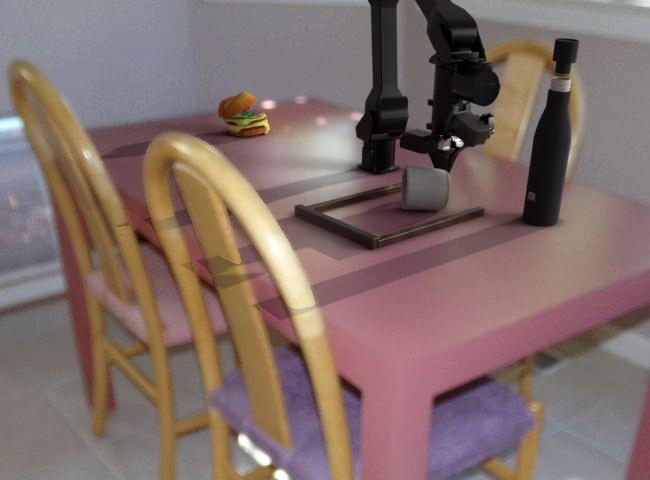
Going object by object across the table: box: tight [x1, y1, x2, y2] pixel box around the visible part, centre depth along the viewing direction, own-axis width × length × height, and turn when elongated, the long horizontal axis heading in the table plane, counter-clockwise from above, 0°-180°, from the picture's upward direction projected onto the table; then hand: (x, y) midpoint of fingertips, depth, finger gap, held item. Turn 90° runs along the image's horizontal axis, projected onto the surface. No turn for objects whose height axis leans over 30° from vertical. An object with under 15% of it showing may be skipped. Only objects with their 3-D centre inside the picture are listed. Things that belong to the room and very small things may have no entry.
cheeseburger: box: [217, 91, 270, 138], centre depth 183 cm, size 10×11×10 cm
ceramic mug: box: [400, 165, 452, 211], centre depth 145 cm, size 11×8×8 cm
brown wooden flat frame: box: [293, 181, 486, 250], centre depth 141 cm, size 28×20×2 cm
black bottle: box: [521, 37, 580, 227], centre depth 135 cm, size 6×6×30 cm
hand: (442, 182), depth 148 cm, fingers closed
